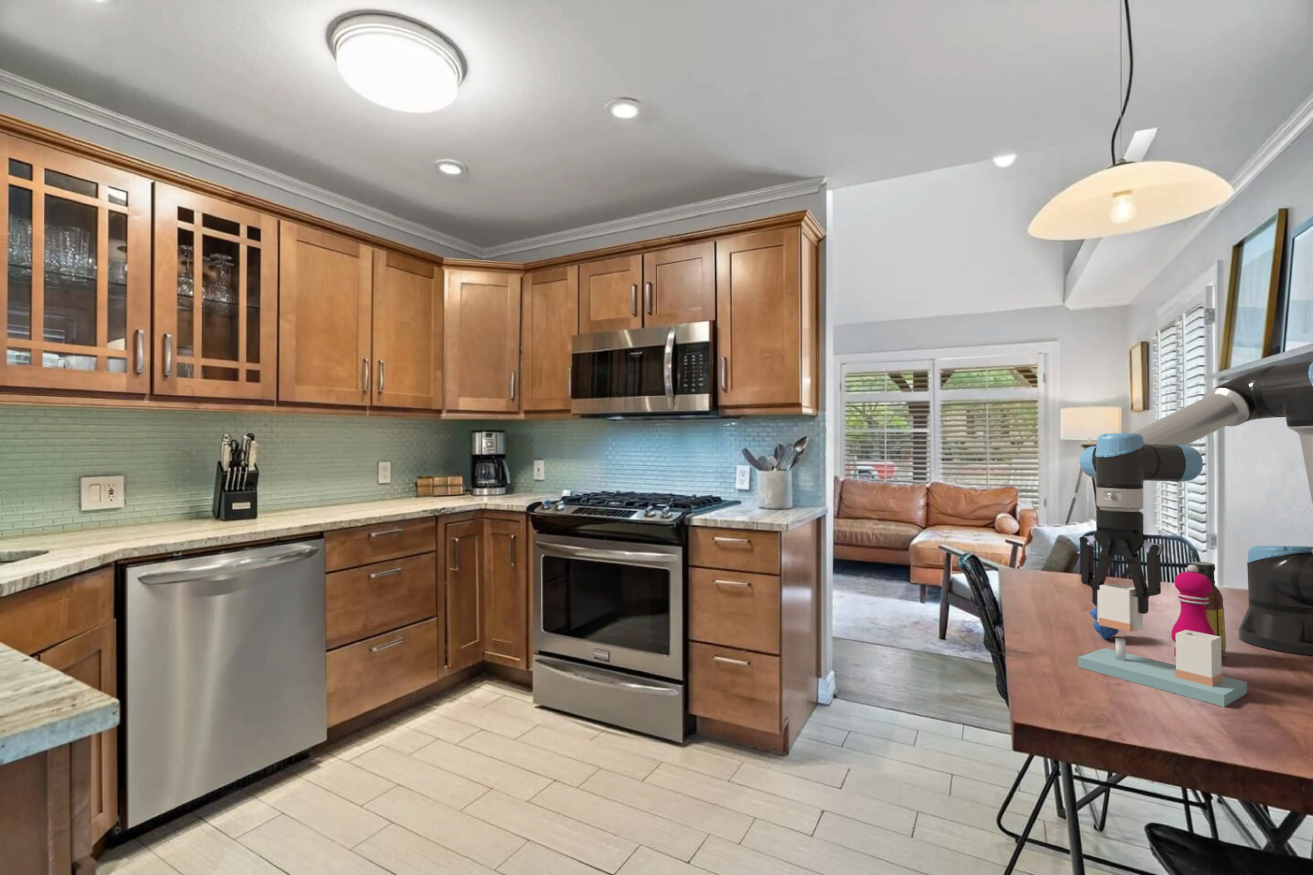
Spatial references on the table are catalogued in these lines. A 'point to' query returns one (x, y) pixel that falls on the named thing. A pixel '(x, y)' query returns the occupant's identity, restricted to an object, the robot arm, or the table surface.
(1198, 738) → the table surface
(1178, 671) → the seated sleeve
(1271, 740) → the table surface
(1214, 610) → the sauce bottle
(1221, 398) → the robot arm
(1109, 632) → the grapes
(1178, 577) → the pepper mill
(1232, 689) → the pin board
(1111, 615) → the sleeve
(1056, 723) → the table surface
